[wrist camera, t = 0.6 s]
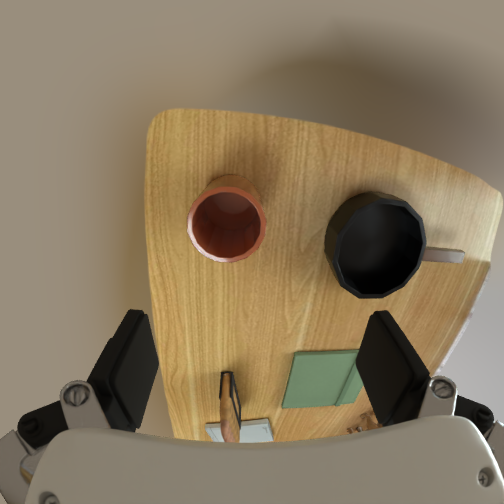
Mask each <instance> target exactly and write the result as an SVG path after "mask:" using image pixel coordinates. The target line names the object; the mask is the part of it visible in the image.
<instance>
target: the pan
mask: <svg viewBox="0 0 504 504" xmlns="http://www.w3.org/2000/svg"><path fill="white" fill-rule="evenodd" d="M324 244H325V249H324V252H325V254H326V258H327V261H328V263H329V265H330V267H331V270H332V272H333V274H334V276H335V277H336V279H337V281H338V282H339V284H340V286H341V287H343V288H344V289H346V290H347V291H349V292H350V293H352V294H353V295H355V296H356V297H358V298H360V299H369V298H384V297H386V296H388V295H389V294H391V293H393V292H395V291H397V290H399V289H401V288H403V287H404V286H405V285H406V284H407V282H408V281H409V280H410V279H411V277H412V276H413V275H414V274H415V272H416V271H417V270H418V269H419V267H420V264H421V261H431V262H449V263H462V261H463V258H464V255H465V252H464V251H462V250H457V249H447V248H437V247H426V236H425V230H424V225H423V220H422V218H421V217H420V216H419V215H418V214H417V212H416V211H415V210H414V209H413V208H412V207H411V206H410V205H409V204H408V203H407V202H406V201H404V200H402V199H399V198H397V197H395V196H393V195H389V194H384V193H380V192H366V193H362V194H359V195H356V196H354V197H352V198H350V199H349V200H348V201H346V202H345V203H344V204H343V205H341V206H340V207H339V209H338V210H337V211H336V212H335V214H334V215H333V217H332V218H331V220H330V222H329V225H328V227H327V230H326V235H325V242H324Z"/></svg>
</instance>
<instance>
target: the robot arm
mask: <svg viewBox="0 0 504 504" xmlns="http://www.w3.org/2000/svg"><path fill="white" fill-rule="evenodd" d="M158 366H159V361H158V356H157V352H156V349H155V345H154V340H153V336H152V332H151V328H150V324H149V319H148V315H147V314H144V312H143V311H142V310H133V309H130V310H128V312H127V314H126V315H125V317H124V319H123V321H122V322H121V324H120V326H119V327H118V329H117V331H116V333H115V334H114V336H113V338H110V339H109V341H108V342H107V344H106V346H105V348H104V350H103V351H102V353H101V355H100V357H99V359H98V360H97V363H96V364H95V366H94V368H93V370H92V372H91V374H90V376H89V377H88V379H87V381H86V382H85V381H81V380H76V381H72V382H70V383H68V384H66V385H65V386H64V387H63V389H62V390H61V392H60V400H59V401H57V402H54V403H52V404H49V405H47V406H44V407H42V408H39V409H37V410H34V411H31V412H29V413H27V414H25V415H23V416H22V417H21V419H20V420H19V422H18V427H17V428H18V430H17V431H16V432H15V431H14V430H11V431H10V432H9V433H8V434H6V435H5V436H4V437H2V438H1V439H0V493H1V494H2V496H3V497H4V499H5V501H6V502H7V504H504V425H503V424H502V423H501V422H499V421H498V420H497V421H496V422H494V416H493V413H492V411H491V410H490V409H489V408H488V407H486V406H485V405H482V404H479V403H477V402H474V401H472V400H469V399H466V398H464V397H461V396H459V395H457V387H456V385H455V383H454V382H453V381H452V380H451V379H449V378H447V377H445V376H435V377H432V378H430V376H429V374H430V373H429V371H428V369H427V368H426V366H425V365H424V363H423V362H422V360H421V358H420V357H419V355H418V354H417V352H416V351H415V349H414V348H413V346H412V345H411V343H410V342H409V340H408V339H407V337H406V336H405V334H404V333H403V331H402V330H401V329H400V327H399V326H398V324H397V323H396V321H395V320H394V318H393V317H392V316H391V314H390V313H389V312H388V311H387V310H384V311H375V312H374V313H373V315H371V316H370V318H369V321H368V324H367V327H366V330H365V334H364V337H363V340H362V343H361V346H360V349H359V352H358V355H357V357H356V368H357V370H358V373H359V375H360V377H361V380H362V382H363V385H364V387H365V390H366V392H367V395H368V397H369V400H370V402H371V405H372V408H373V410H374V413H375V415H376V418H377V421H378V423H379V424H382V426H383V427H382V428H377V429H373V430H368V431H363V432H358V433H352V434H347V435H340V436H334V437H326V438H318V439H310V440H299V441H286V442H264V443H232V442H209V441H196V440H185V439H176V438H168V437H160V436H153V435H147V434H141V433H135V430H136V428H138V429H139V428H140V426H141V423H142V419H143V415H144V412H145V409H146V405H147V402H148V399H149V395H150V392H151V389H152V386H153V382H154V379H155V376H156V373H157V370H158Z"/></svg>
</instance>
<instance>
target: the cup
mask: <svg viewBox="0 0 504 504" xmlns="http://www.w3.org/2000/svg"><path fill="white" fill-rule="evenodd" d="M266 222H267V221H266V217H265V213H264V209H263V205H262V201H261V198H260V195H259V192H258V190H257V188H256V187H255V186H254V185H253V184H252V183H251V182H250V181H249V180H247V179H246V178H244V177H241V176H238V175H224V176H221V177H219V178H217V179H215V180H213V181H212V182H211V183H210V184H209V185H208V186H207V187H206V188H205V189H204V190H203V191H202V193H201V194H200V195H199V196H198V197H197V199H196V200H195V201H194V202H193V204H192V206H191V209H190V211H189V213H188V216H187V231H188V235H189V237H190V239H191V242H192V244H193V246H194V247H195V248H196V249H197V250H198V251H199V252H200V253H201V254H202V255H204V256H205V257H208V258H210V259H212V260H215V261H218V262H231V263H232V262H236V261H239V260H242V259H245V258H247V257H249V256H250V255H251V254H252V253H254V252H255V251H256V250H257V249H258V248H259V246H260V244H261V243H262V241H263V239H264V237H265V233H266Z"/></svg>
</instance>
